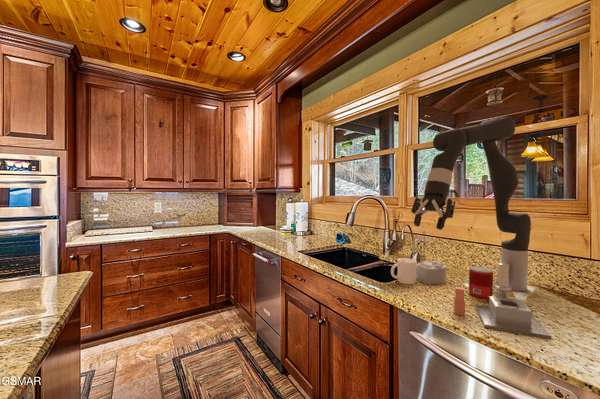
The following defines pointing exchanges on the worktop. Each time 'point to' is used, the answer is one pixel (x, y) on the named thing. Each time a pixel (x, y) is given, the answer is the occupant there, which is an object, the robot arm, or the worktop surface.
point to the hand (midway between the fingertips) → (427, 227)
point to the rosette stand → (509, 310)
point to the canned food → (480, 282)
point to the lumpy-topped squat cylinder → (431, 272)
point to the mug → (405, 271)
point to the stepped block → (459, 301)
